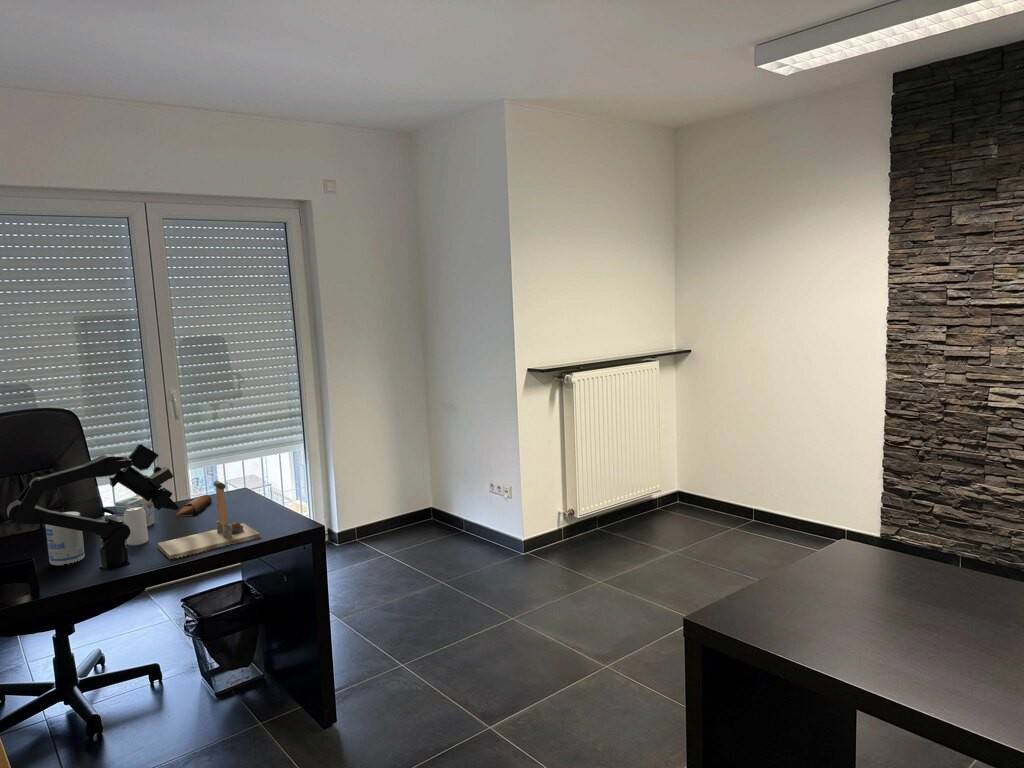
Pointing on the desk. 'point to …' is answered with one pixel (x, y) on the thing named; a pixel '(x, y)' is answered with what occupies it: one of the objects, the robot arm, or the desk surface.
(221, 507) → the lever
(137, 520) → the can
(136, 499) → the light bulb box
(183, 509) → the brown bread roll
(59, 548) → the supplement tub
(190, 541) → the board
